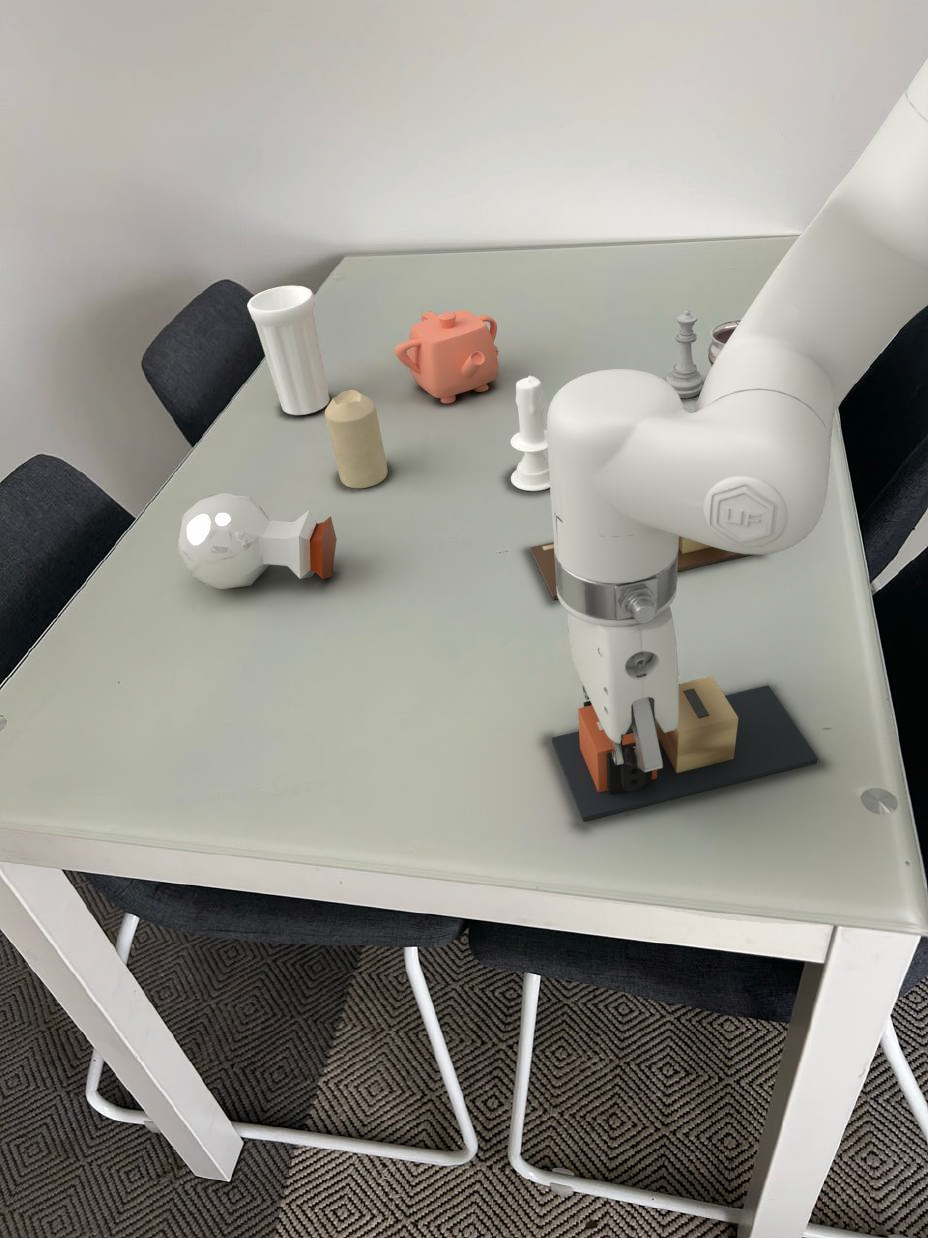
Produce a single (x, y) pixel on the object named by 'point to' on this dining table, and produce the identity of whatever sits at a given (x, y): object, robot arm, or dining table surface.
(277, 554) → the potion bottle
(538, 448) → the candle
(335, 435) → the candle
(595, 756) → the orange striped cube
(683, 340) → the chess piece
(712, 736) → the tan block
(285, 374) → the cup
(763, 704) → the near mat
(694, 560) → the far board
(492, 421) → the dining table surface
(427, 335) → the teapot
